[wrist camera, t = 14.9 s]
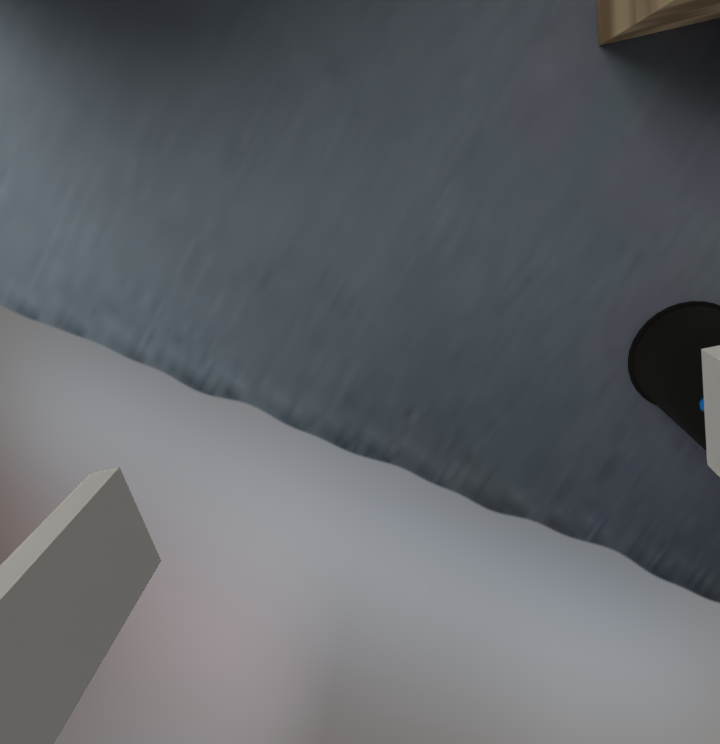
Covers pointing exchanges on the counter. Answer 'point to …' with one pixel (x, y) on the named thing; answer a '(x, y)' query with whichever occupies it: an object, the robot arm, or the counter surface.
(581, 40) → the counter surface
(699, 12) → the oak slotted board
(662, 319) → the aerosol can
